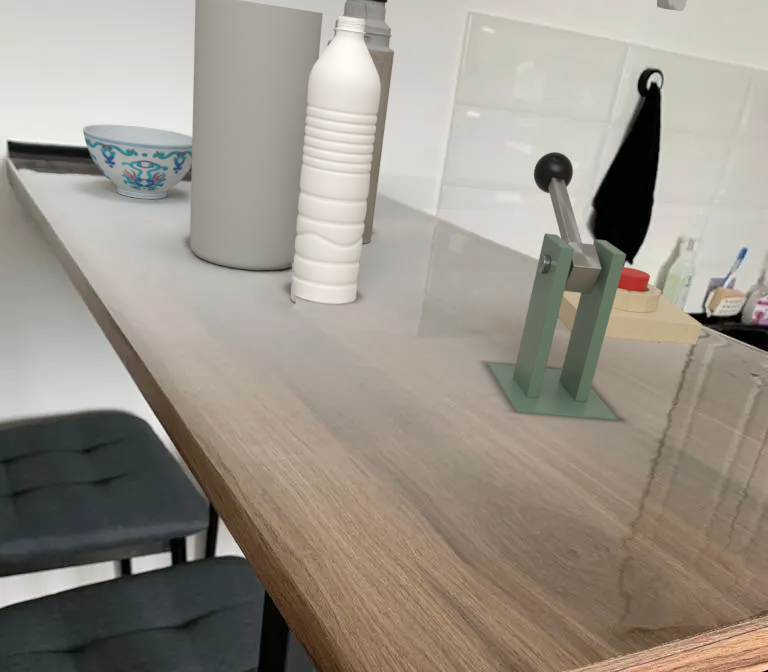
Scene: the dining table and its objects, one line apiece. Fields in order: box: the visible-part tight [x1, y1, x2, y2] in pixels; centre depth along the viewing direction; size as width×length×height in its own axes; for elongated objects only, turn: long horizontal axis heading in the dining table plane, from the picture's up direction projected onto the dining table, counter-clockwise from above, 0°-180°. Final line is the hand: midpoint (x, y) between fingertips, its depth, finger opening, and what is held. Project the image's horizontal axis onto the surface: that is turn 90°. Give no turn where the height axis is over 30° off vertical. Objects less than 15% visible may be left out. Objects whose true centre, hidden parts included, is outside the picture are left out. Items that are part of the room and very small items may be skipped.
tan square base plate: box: [558, 283, 703, 346], centre depth 90 cm, size 13×11×5 cm
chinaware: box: [82, 124, 192, 200], centre depth 118 cm, size 15×15×8 cm
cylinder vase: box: [189, 0, 324, 271], centre depth 92 cm, size 12×12×25 cm
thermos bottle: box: [327, 0, 395, 245], centre depth 107 cm, size 8×8×28 cm
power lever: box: [533, 151, 602, 294], centre depth 68 cm, size 15×3×3 cm, turn 7°
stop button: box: [618, 266, 651, 292], centre depth 89 cm, size 4×4×2 cm
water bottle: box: [290, 15, 381, 305], centre depth 81 cm, size 9×6×25 cm
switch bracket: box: [487, 233, 627, 421], centre depth 67 cm, size 10×8×13 cm
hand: (615, 3), depth 67 cm, fingers open, 8 cm apart
